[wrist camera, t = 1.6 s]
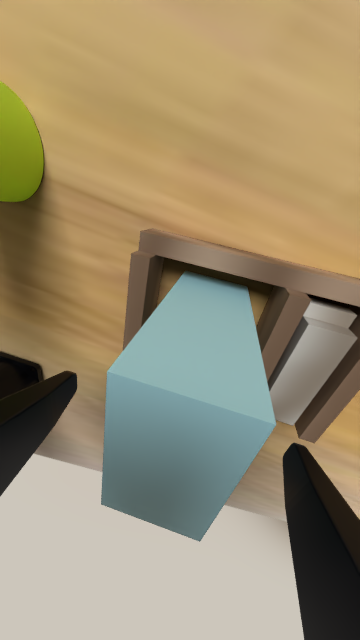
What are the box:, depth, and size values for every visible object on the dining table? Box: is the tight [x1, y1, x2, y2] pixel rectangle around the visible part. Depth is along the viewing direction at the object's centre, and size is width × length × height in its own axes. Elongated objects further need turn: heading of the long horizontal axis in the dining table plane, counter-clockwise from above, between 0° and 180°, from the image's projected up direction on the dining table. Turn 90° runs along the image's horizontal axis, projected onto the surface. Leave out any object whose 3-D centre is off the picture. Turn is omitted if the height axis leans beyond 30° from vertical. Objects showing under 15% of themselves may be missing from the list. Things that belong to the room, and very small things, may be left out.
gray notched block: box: [267, 298, 357, 425], centre depth 14 cm, size 2×8×3 cm, turn 169°
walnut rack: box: [123, 229, 360, 443], centre depth 14 cm, size 14×10×3 cm
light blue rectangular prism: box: [101, 271, 276, 541], centre depth 11 cm, size 4×7×10 cm, turn 169°
